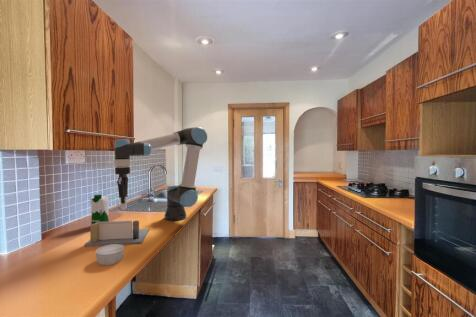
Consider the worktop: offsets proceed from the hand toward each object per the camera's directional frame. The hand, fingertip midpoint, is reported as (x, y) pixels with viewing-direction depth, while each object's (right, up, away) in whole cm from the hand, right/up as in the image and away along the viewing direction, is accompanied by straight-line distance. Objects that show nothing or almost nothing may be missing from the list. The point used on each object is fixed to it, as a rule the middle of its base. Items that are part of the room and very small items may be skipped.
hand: (123, 208), depth 137 cm
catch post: (-9, -15, -13) cm, 22 cm away
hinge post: (+10, -15, -7) cm, 20 cm away
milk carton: (-23, -15, +17) cm, 32 cm away
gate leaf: (-1, -14, -9) cm, 17 cm away
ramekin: (+9, -16, -32) cm, 37 cm away
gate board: (0, -15, -4) cm, 16 cm away
